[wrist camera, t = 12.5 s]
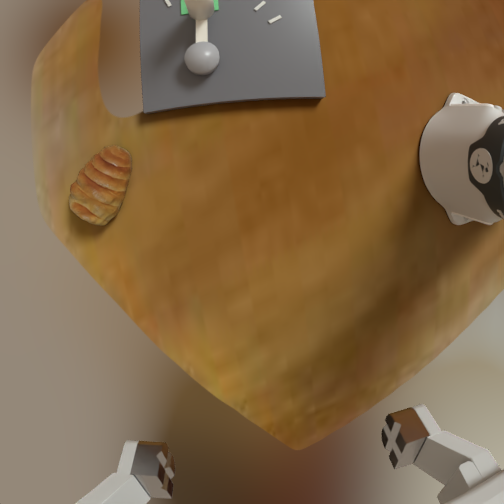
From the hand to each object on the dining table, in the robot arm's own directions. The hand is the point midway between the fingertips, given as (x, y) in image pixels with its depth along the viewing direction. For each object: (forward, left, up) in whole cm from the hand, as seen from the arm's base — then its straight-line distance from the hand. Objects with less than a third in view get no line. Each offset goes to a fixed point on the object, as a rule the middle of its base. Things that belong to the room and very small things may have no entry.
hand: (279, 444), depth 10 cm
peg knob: (+3, -23, -27) cm, 36 cm away
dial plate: (0, -24, -29) cm, 38 cm away
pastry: (+17, -7, -30) cm, 35 cm away
